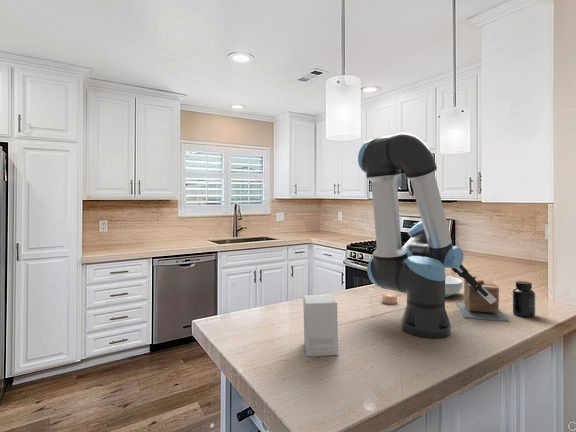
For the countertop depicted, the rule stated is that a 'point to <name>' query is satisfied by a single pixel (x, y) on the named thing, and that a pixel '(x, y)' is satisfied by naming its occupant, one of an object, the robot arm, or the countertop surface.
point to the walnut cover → (477, 301)
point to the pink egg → (389, 298)
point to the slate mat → (481, 314)
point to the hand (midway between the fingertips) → (489, 297)
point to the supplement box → (320, 325)
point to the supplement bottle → (524, 300)
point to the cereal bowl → (452, 285)
